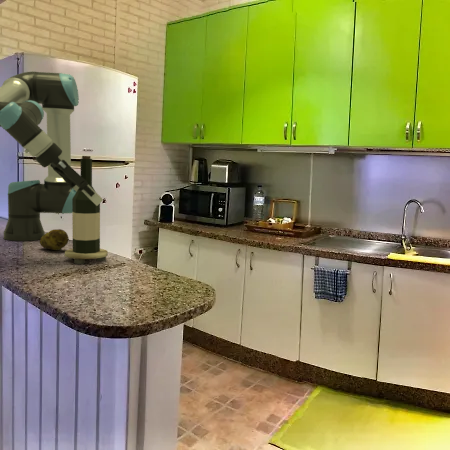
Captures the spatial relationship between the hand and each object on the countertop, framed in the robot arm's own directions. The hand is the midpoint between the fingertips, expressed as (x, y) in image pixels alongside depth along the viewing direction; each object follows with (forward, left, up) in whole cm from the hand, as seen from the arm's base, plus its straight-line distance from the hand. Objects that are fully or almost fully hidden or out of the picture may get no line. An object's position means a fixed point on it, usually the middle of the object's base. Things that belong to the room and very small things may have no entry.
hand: (94, 201), depth 145 cm
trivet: (0, -2, -19) cm, 19 cm away
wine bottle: (0, -3, -16) cm, 16 cm away
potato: (-19, -13, -19) cm, 30 cm away
